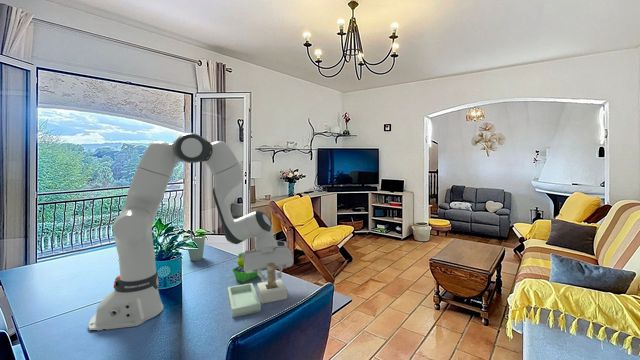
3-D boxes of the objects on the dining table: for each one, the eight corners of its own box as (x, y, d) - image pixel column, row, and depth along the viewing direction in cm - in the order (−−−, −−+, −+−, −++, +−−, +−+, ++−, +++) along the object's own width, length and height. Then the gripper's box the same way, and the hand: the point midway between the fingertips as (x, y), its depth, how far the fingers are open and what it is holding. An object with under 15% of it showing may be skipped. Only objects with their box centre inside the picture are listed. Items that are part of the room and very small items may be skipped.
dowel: (269, 298, 119) (267, 266, 118) (267, 294, 122) (266, 263, 121) (276, 296, 120) (275, 265, 119) (275, 293, 123) (274, 262, 122)
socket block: (262, 303, 114) (261, 293, 114) (257, 292, 124) (257, 283, 123) (287, 298, 118) (287, 288, 118) (281, 288, 127) (280, 279, 127)
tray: (232, 317, 105) (231, 309, 105) (227, 294, 123) (227, 287, 123) (260, 311, 109) (260, 303, 109) (252, 289, 126) (252, 282, 126)
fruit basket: (242, 284, 132) (241, 259, 132) (230, 279, 138) (229, 255, 137) (262, 275, 142) (261, 252, 141) (249, 271, 147) (248, 248, 146)
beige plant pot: (203, 254, 173) (202, 229, 172) (209, 259, 165) (208, 232, 164) (183, 258, 167) (182, 232, 166) (189, 263, 158) (187, 236, 157)
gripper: (241, 247, 122) (245, 280, 114) (290, 241, 129) (297, 271, 121) (240, 255, 126) (244, 286, 118) (287, 248, 134) (294, 278, 126)
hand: (271, 279), depth 120 cm, fingers open, 5 cm apart
